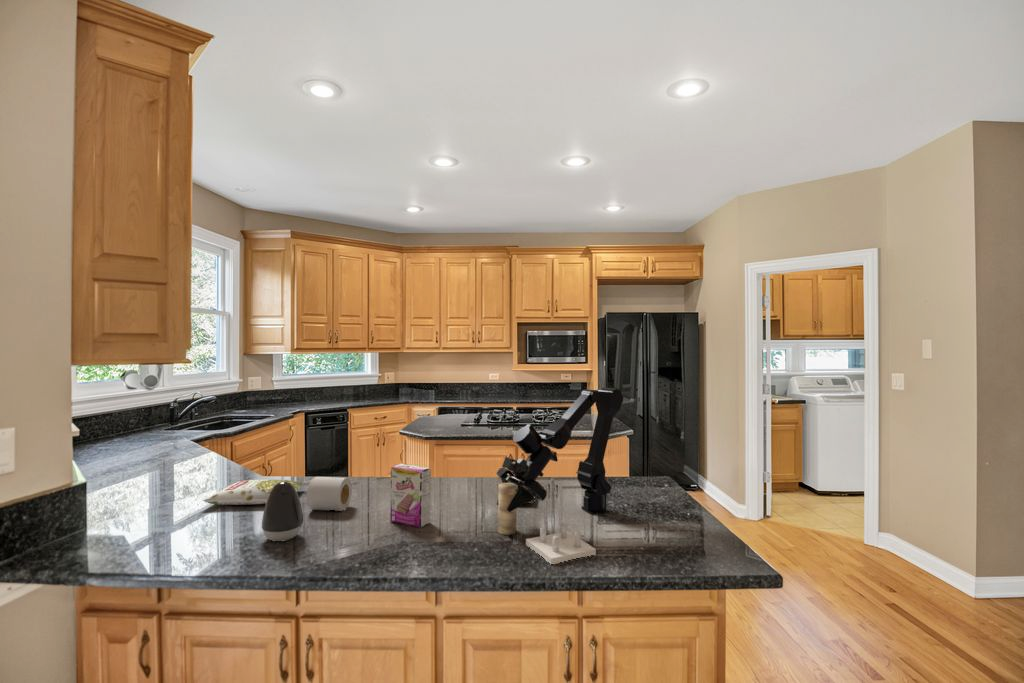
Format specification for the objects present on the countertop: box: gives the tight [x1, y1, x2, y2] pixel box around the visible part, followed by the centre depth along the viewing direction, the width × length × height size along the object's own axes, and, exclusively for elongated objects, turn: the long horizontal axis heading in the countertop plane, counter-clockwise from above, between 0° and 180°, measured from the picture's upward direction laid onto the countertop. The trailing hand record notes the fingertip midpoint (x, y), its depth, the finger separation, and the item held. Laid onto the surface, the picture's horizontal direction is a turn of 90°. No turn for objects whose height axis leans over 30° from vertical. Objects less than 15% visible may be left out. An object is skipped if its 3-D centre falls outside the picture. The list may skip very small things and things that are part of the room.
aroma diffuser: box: [261, 481, 304, 542], centre depth 135 cm, size 10×10×15 cm
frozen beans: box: [201, 479, 305, 506], centre depth 167 cm, size 21×6×25 cm
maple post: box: [497, 482, 517, 536], centre depth 141 cm, size 5×5×13 cm
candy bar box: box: [389, 463, 431, 528], centre depth 147 cm, size 11×5×16 cm, turn 65°
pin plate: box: [525, 522, 597, 565], centre depth 129 cm, size 13×13×5 cm
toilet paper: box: [306, 476, 353, 512], centre depth 158 cm, size 10×10×10 cm
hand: (503, 508), depth 140 cm, fingers closed on maple post, 5 cm apart
